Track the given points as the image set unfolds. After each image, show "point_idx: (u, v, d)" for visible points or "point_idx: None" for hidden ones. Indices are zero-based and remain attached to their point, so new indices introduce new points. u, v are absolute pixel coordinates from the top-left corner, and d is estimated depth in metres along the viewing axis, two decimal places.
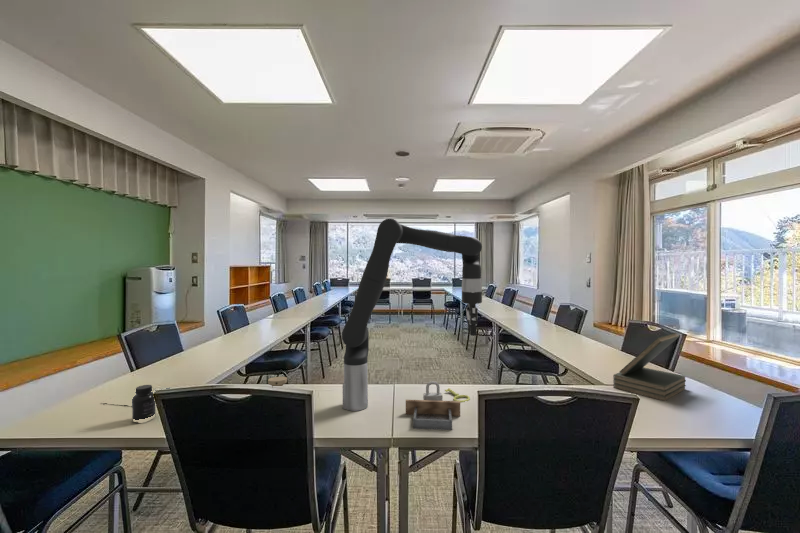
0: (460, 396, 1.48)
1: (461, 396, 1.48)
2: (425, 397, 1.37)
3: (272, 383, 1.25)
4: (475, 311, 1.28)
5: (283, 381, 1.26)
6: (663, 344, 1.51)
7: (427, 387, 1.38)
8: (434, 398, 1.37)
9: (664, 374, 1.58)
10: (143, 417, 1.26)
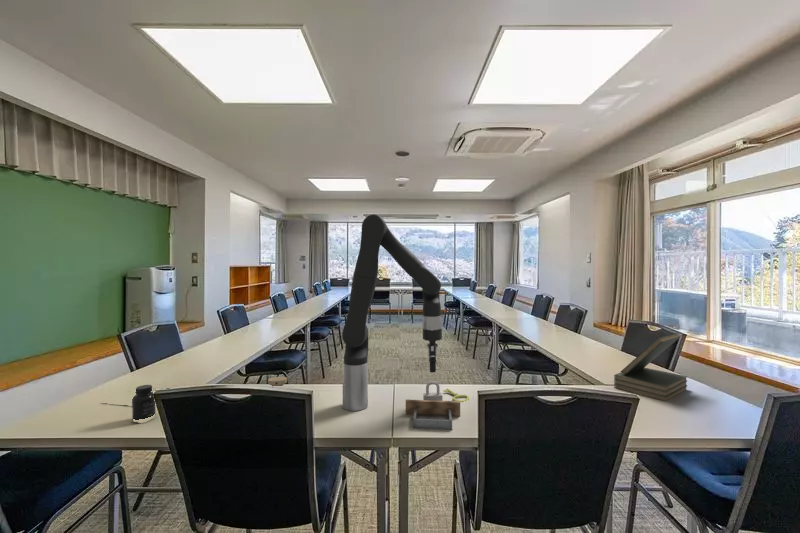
0: (459, 396, 1.48)
1: (460, 396, 1.48)
2: (425, 397, 1.37)
3: (272, 383, 1.25)
4: (433, 349, 1.32)
5: (283, 381, 1.26)
6: (664, 344, 1.51)
7: (427, 387, 1.38)
8: (434, 398, 1.37)
9: (665, 374, 1.58)
10: (143, 417, 1.26)
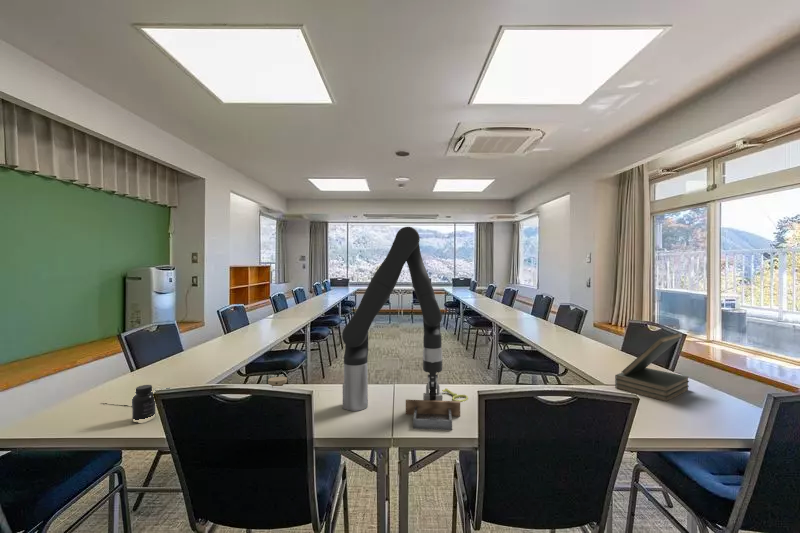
0: (458, 396, 1.48)
1: (459, 396, 1.48)
2: (425, 397, 1.37)
3: (272, 383, 1.25)
4: (434, 385, 1.32)
5: (283, 381, 1.26)
6: (665, 344, 1.50)
7: (427, 387, 1.38)
8: None
9: (667, 375, 1.57)
10: (143, 417, 1.26)
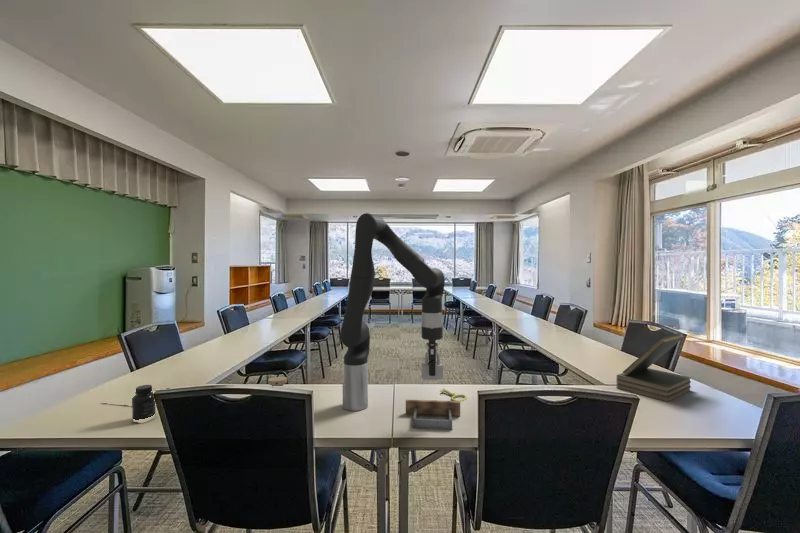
0: (457, 396, 1.48)
1: (458, 395, 1.48)
2: (424, 367, 1.24)
3: (272, 383, 1.25)
4: (433, 353, 1.19)
5: (283, 381, 1.26)
6: (667, 345, 1.50)
7: (426, 356, 1.25)
8: None
9: (668, 375, 1.57)
10: (143, 417, 1.26)
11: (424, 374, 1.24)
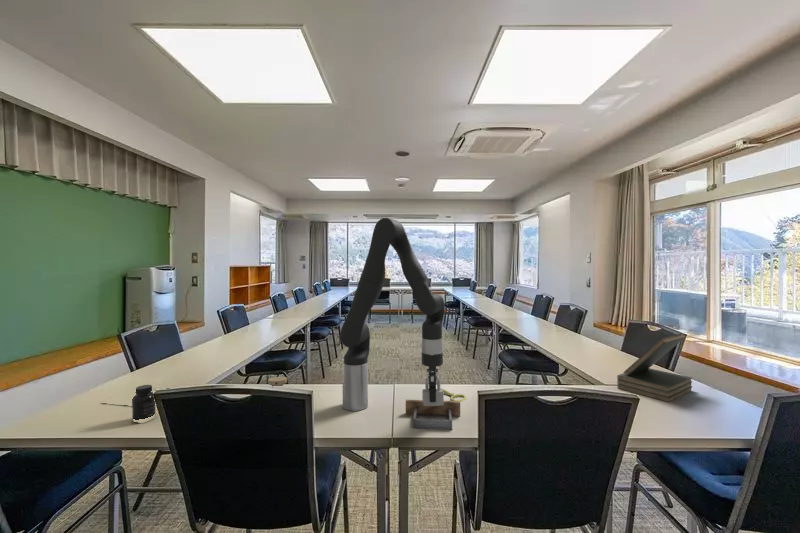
0: (456, 395, 1.48)
1: (457, 395, 1.49)
2: (424, 393, 1.24)
3: (272, 383, 1.25)
4: (434, 380, 1.19)
5: (283, 381, 1.26)
6: (668, 345, 1.49)
7: (426, 382, 1.25)
8: None
9: (670, 375, 1.57)
10: (143, 417, 1.26)
11: (424, 400, 1.24)
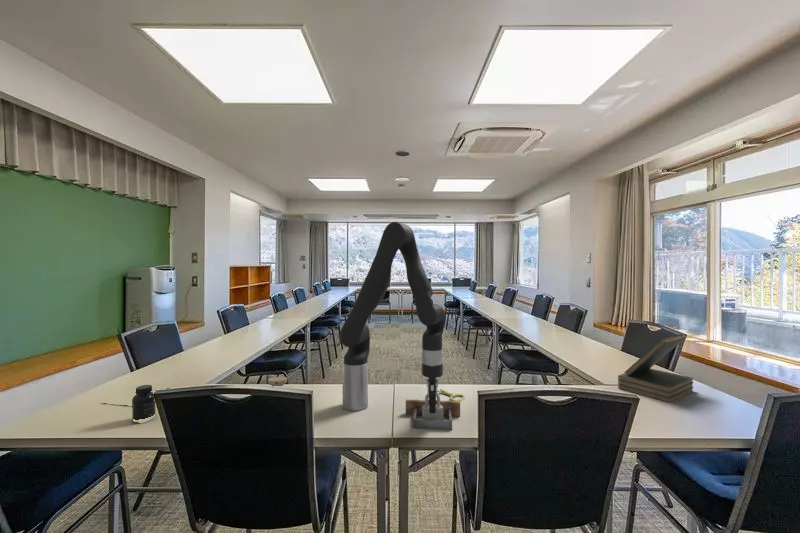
0: (455, 395, 1.48)
1: (456, 395, 1.49)
2: (424, 410, 1.24)
3: (272, 383, 1.25)
4: (434, 389, 1.18)
5: (283, 381, 1.26)
6: (669, 345, 1.49)
7: (426, 398, 1.25)
8: None
9: (671, 375, 1.56)
10: (143, 417, 1.26)
11: (424, 417, 1.24)
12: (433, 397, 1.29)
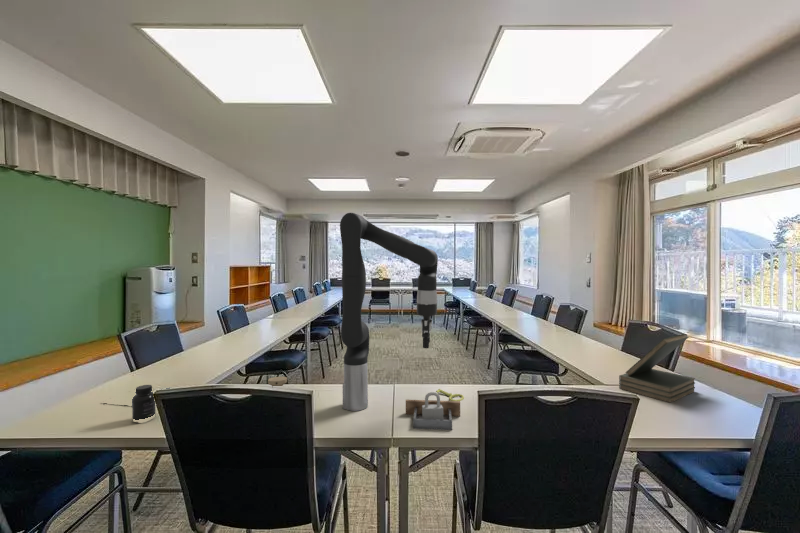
0: (454, 395, 1.49)
1: (455, 395, 1.49)
2: (424, 410, 1.24)
3: (272, 383, 1.25)
4: (427, 324, 1.27)
5: (283, 381, 1.26)
6: (670, 345, 1.49)
7: (426, 398, 1.25)
8: (434, 411, 1.24)
9: (672, 376, 1.56)
10: (143, 417, 1.26)
11: (424, 417, 1.24)
12: None
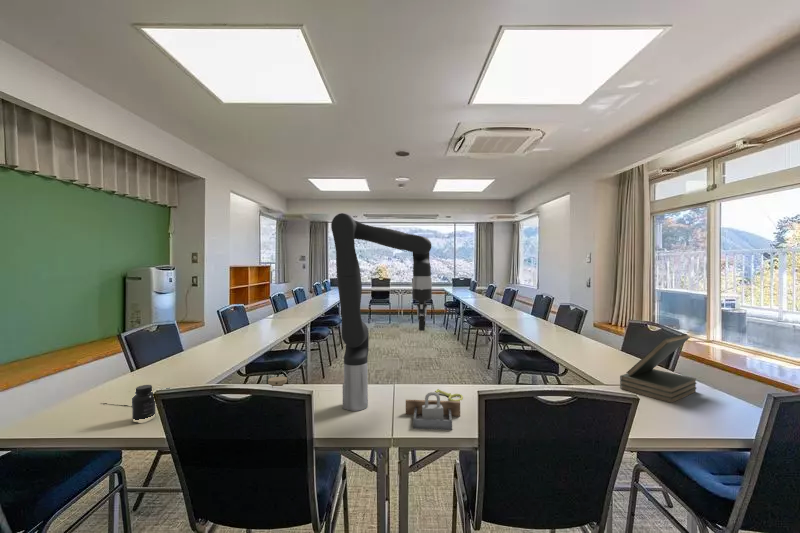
0: (453, 395, 1.49)
1: (454, 395, 1.49)
2: (424, 410, 1.24)
3: (272, 383, 1.25)
4: (423, 307, 1.34)
5: (283, 381, 1.26)
6: (671, 345, 1.48)
7: (426, 398, 1.25)
8: (434, 411, 1.24)
9: (673, 376, 1.55)
10: (143, 417, 1.26)
11: (424, 417, 1.24)
12: None
